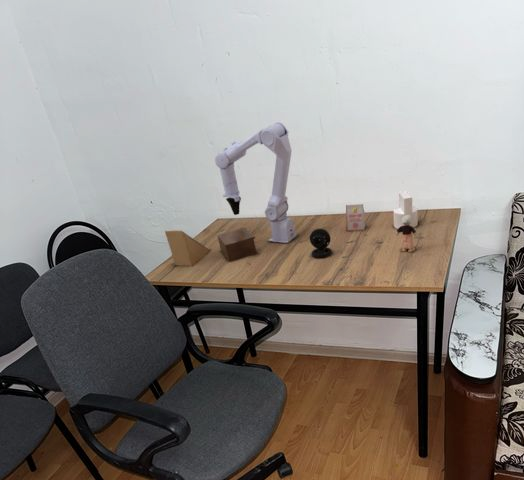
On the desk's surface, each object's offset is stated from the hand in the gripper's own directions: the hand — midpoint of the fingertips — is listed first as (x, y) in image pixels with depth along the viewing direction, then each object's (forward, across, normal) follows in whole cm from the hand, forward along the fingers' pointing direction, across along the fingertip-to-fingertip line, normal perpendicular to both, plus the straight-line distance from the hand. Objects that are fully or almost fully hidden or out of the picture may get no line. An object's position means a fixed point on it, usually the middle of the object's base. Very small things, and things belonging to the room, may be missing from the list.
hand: (236, 214), depth 202 cm
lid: (+4, +15, -6) cm, 17 cm away
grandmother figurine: (+11, +59, +45) cm, 75 cm away
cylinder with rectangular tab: (+11, +38, +58) cm, 70 cm away
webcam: (+11, +41, +20) cm, 47 cm away
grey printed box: (+11, +28, +41) cm, 51 cm away
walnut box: (+10, +16, -6) cm, 20 cm away
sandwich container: (+11, +7, -24) cm, 27 cm away
